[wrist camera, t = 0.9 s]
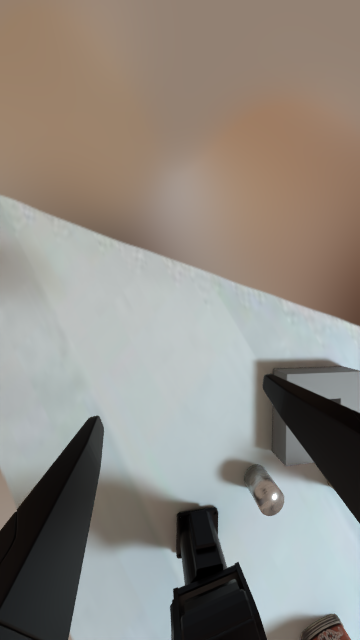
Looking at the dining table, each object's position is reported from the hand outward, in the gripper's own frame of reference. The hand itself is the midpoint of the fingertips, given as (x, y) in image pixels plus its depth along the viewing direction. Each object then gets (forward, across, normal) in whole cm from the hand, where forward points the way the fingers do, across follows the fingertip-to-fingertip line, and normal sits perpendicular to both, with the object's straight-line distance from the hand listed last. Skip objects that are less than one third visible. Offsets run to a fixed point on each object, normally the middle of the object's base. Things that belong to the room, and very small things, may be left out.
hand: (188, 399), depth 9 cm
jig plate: (+10, -23, +20) cm, 32 cm away
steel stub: (+7, -11, +29) cm, 32 cm away
